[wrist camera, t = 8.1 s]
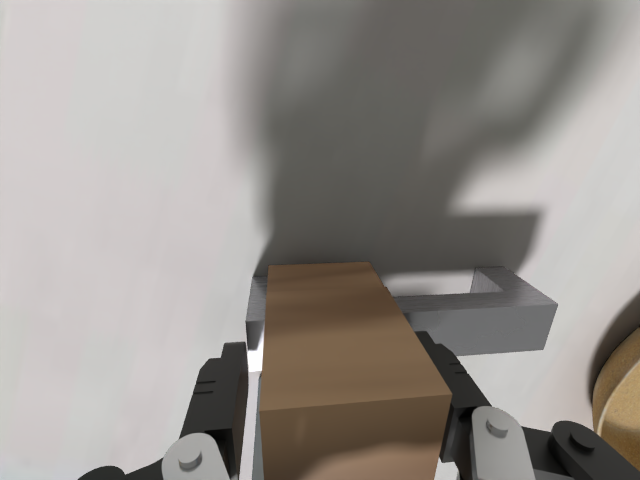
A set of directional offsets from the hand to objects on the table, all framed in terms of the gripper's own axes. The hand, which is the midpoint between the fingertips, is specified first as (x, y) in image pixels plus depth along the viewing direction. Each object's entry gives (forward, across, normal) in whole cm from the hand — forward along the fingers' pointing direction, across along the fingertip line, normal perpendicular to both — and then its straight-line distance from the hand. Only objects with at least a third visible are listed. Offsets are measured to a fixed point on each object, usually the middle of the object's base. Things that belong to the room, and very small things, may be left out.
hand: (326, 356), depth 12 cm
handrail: (+4, -4, 0) cm, 6 cm away
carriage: (+3, 0, 0) cm, 3 cm away
